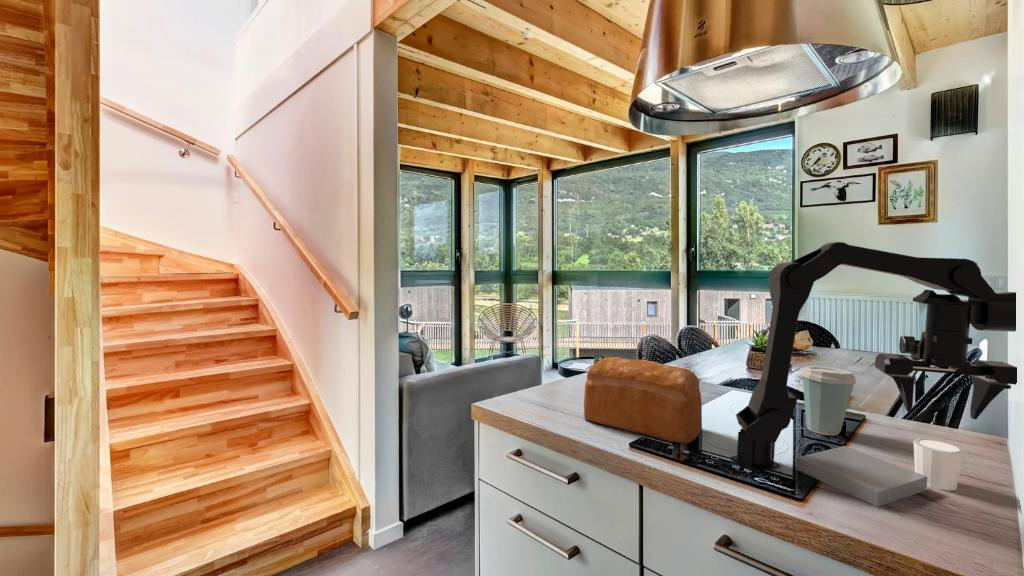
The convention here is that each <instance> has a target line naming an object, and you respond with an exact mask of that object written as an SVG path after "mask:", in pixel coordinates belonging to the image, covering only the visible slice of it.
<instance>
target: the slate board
mask: <svg viewBox="0 0 1024 576" xmlns="http://www.w3.org/2000/svg"><path fill="white" fill-rule="evenodd" d="M796 469H798V470H801V471H803V472H805V473H807V474H810V475H811V476H813V477H815V478H816V479H815V478H814V479H815V480H817V479H818V481H820V482H822V483H823V484H826V485H828V486H831V487H832V488H835V489H836V490H839V491H842V492H844V493H846V494H849V495H850V496H853V497H855V498H857V499H859V500H861V501H864V502H866V503H868V504H870V505H873V506H874V507H877V508H878V507H881V506H884V505H887V504H889V503H893V502H896V501H899V500H902V499H904V498H908V497H910V496H913V495H916V494H919V493H922V492H926V491H927V489H928V487H927V476H924V475H922V474H919V473H916V472H915V470H914V471H913V470H911V469H907V468H906V467H902V466H899V465H897V464H894V463H891V462H889V461H886V460H883V459H881V458H878V457H875V456H872V455H870V454H867V453H864V452H862V451H859V450H855V449H853V448H851V447H848V446H845V445H842V446H839V447H835V448H830V449H826V450H822V451H818V452H813V453H809V454H806V455H801V456H798V457H796ZM813 477H812V478H813Z"/></svg>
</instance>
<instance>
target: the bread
mask: <svg viewBox="0 0 1024 576" xmlns="http://www.w3.org/2000/svg"><path fill="white" fill-rule="evenodd" d="M583 397H584V398H583V411H584V412H583V414H584V415H583V417H584V419H585V420H586V421H587V422H592V423H596V424H600V425H603V426H607V427H611V428H615V429H620V430H623V431H628V432H631V433H637V434H641V435H645V436H649V437H653V438H657V439H660V440H664V441H668V442H675V443H680V444H684V445H686V444H690V443H691V442H693V441H694V440H695V439H697V437H698V436H699V435H700V433H701V430H702V394H701V391H700V380H699V378H698V376H697V375H696V374H695V372H693V371H692V370H690V369H687V368H684V367H679V366H673V365H666V364H663V363H660V362H656V361H651V360H647V359H629V358H622V357H619V356H618V357H617V356H616V357H614V356H613V357H603V358H601V359H600V360H598V361H596V362H595V363H594V364H592V365H591V366H590V367H589V369H588V371H587V373H586V382H585V384H584V396H583Z"/></svg>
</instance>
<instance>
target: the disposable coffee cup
mask: <svg viewBox="0 0 1024 576" xmlns="http://www.w3.org/2000/svg"><path fill="white" fill-rule="evenodd" d="M801 376H802V385H803V386H802V388H803V398H804V399H803V400H804V401H803V402H804V411H805V412H804V414H805V424H806V426H807V429H808V430H809V431H810V432H812V433H815V434H818V435H822V436H823V435H824V436H830V435H831V436H830V437H833V436H835V435H836V436H838V434H839V435H840V433H841V432H842V428H843V424H844V421H845V417H846V414H847V410H848V407H849V402H850V400H851V397H852V396H851V395H852V392H853V388H854V386H855V384H856V380H857V379H856V377H855V375H854V373H853V372H852V371H850V370H849V371H848V370H845V369H840V368H833V367H826V366H815V365H814V366H813V365H812V366H805V367H804V368H802V371H801Z"/></svg>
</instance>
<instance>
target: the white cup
mask: <svg viewBox="0 0 1024 576" xmlns="http://www.w3.org/2000/svg"><path fill="white" fill-rule="evenodd" d="M964 456H965V450H964V449H963V448H962V447H960V446H959V445H955V444H953V443H949V442H946V441H942V440H937V439H931V438H915V439H913V457H914V458H913V459H914V461H913V462H914V472H916V473H919V474H922V475H924V476H927V486H928V487H930V488H933V489H937V490H941V491H955V490H957V487H958V484H959V478H960V475H961V470H962V465H963V460H964Z"/></svg>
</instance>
